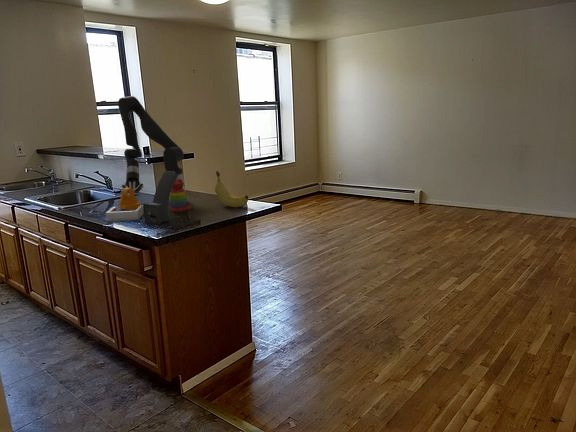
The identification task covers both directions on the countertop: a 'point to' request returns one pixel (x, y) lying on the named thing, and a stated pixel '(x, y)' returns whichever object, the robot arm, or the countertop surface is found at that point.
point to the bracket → (124, 214)
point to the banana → (228, 195)
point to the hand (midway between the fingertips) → (132, 197)
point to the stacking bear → (178, 197)
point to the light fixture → (160, 200)
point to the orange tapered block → (128, 200)
